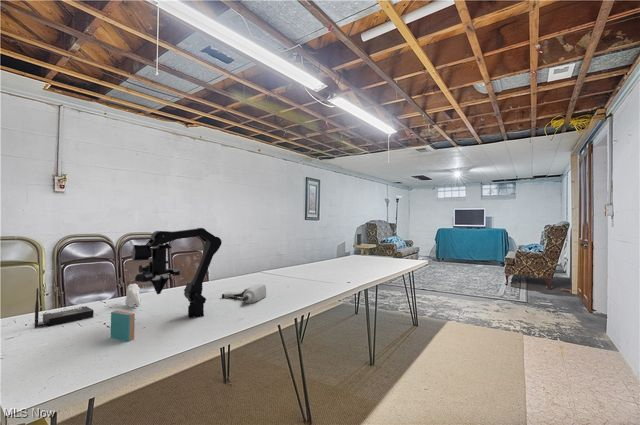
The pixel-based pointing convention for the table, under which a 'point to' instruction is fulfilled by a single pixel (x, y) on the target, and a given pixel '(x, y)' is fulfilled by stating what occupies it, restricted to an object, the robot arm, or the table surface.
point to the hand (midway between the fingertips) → (158, 294)
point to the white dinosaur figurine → (133, 295)
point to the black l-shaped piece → (62, 315)
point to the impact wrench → (249, 293)
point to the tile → (122, 325)
